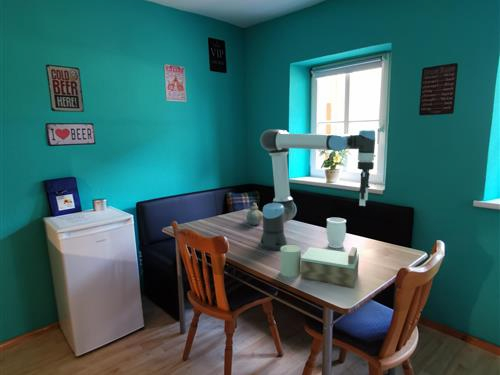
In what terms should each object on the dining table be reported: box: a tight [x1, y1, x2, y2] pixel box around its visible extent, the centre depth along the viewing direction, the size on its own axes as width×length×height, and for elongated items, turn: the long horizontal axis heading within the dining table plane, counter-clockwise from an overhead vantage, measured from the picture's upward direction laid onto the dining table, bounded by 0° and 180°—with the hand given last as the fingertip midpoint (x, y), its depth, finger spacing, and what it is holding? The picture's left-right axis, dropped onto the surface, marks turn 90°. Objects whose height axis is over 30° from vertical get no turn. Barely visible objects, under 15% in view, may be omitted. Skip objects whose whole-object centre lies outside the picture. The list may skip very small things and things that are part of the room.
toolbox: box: [300, 256, 360, 289], centre depth 138 cm, size 22×14×8 cm, turn 64°
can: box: [280, 244, 302, 278], centre depth 142 cm, size 9×9×12 cm
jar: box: [326, 217, 347, 249], centre depth 174 cm, size 11×10×15 cm
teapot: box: [246, 202, 263, 226], centre depth 219 cm, size 21×12×15 cm, turn 179°
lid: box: [301, 246, 360, 269], centre depth 137 cm, size 22×14×5 cm, turn 64°
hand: (363, 202), depth 161 cm, fingers open, 13 cm apart
